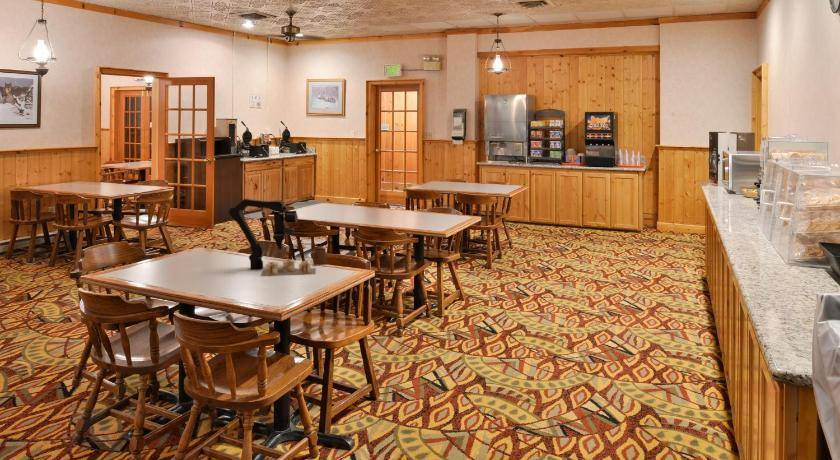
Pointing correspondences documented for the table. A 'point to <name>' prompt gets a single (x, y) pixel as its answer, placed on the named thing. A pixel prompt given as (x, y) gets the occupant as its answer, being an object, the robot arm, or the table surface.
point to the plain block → (288, 265)
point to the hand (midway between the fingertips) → (280, 249)
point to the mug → (319, 256)
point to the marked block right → (304, 267)
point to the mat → (296, 272)
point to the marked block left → (271, 268)
